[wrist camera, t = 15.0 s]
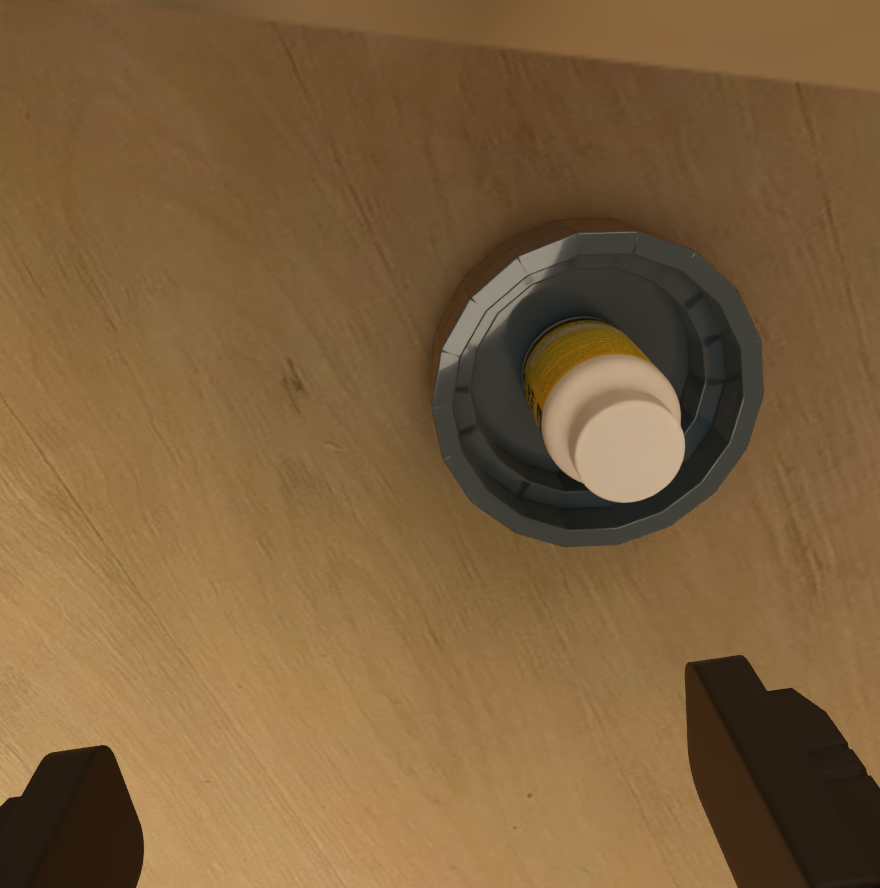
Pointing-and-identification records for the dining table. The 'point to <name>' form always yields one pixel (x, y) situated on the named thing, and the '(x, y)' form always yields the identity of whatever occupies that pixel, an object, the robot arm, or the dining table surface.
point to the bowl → (642, 320)
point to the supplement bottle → (603, 409)
